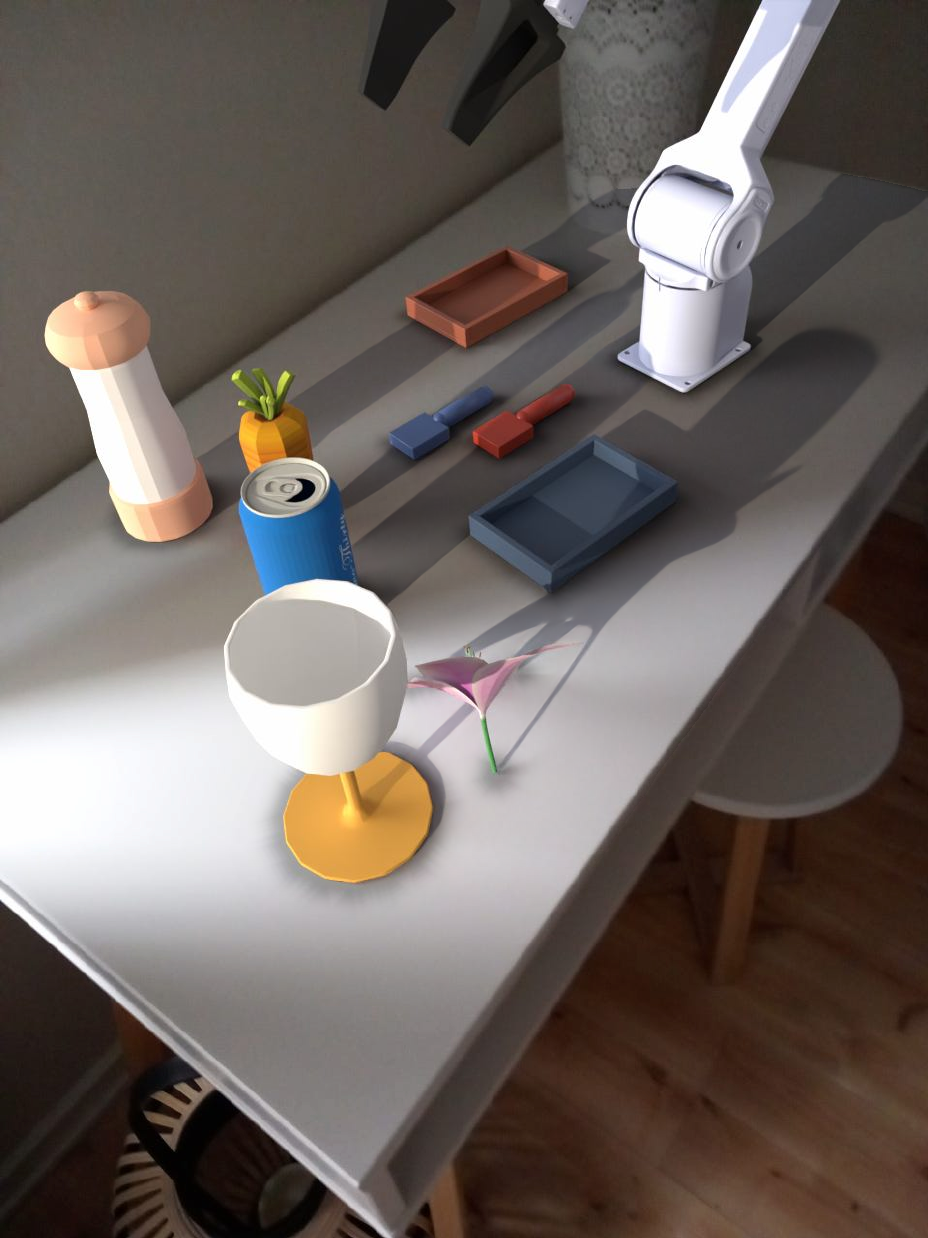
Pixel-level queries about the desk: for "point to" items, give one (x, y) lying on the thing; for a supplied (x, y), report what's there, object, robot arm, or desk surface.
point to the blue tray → (572, 511)
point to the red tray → (486, 295)
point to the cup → (332, 723)
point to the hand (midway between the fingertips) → (411, 118)
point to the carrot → (271, 421)
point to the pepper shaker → (130, 415)
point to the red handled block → (519, 423)
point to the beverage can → (295, 524)
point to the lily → (474, 680)
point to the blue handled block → (437, 424)
